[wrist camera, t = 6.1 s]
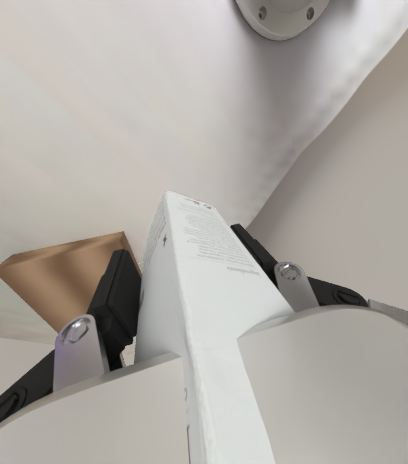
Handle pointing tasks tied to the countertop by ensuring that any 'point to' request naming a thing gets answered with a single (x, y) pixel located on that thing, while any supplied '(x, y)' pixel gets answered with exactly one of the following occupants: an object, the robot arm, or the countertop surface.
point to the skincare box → (206, 325)
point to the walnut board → (62, 276)
